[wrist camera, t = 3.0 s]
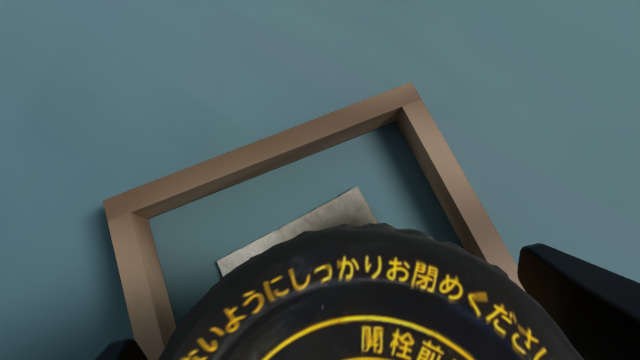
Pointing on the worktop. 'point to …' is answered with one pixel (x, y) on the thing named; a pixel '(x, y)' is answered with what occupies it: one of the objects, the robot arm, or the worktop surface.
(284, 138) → the walnut frame
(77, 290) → the worktop surface
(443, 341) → the condiment
